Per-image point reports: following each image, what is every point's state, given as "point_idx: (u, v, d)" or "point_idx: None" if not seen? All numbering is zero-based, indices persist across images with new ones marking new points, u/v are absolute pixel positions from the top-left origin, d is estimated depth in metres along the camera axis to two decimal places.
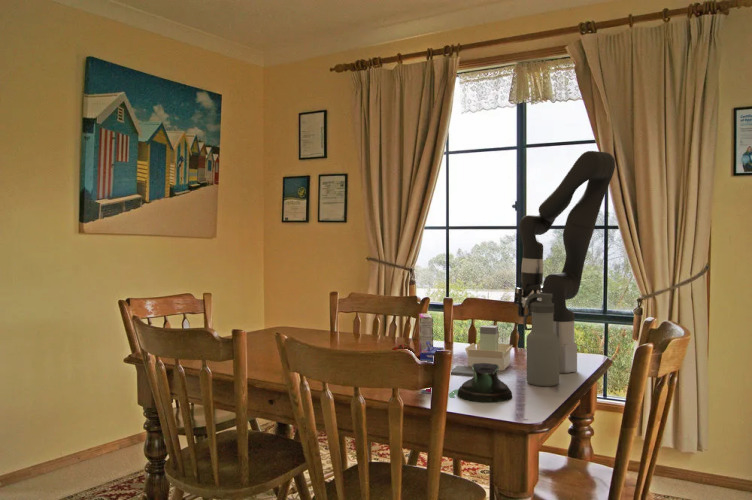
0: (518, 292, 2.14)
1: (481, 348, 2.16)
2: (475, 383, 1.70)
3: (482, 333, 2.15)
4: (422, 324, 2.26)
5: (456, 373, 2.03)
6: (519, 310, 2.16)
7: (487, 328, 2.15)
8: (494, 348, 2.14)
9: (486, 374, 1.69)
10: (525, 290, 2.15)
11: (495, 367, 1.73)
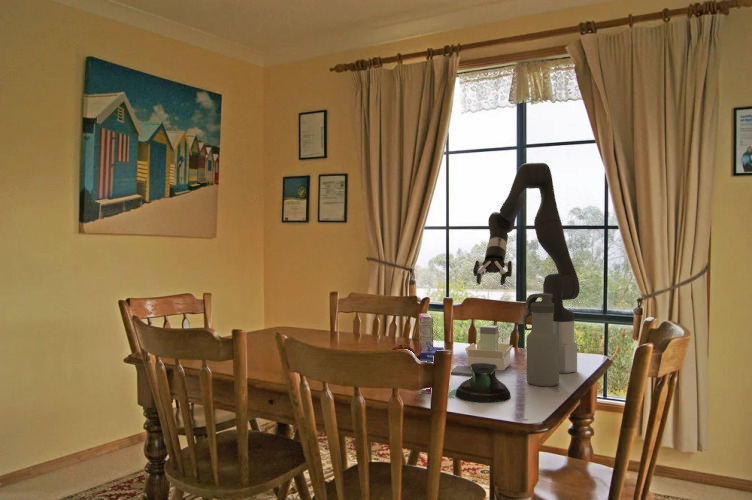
0: None
1: (481, 348, 2.16)
2: (473, 383, 1.70)
3: (482, 333, 2.15)
4: (422, 324, 2.26)
5: (456, 373, 2.03)
6: None
7: (487, 328, 2.15)
8: (494, 348, 2.14)
9: (484, 374, 1.69)
10: (483, 262, 2.33)
11: (493, 367, 1.73)
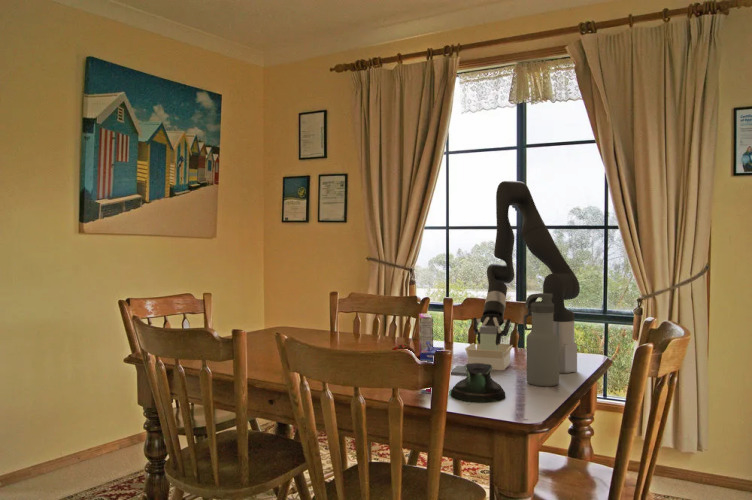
0: None
1: (481, 348, 2.16)
2: (468, 383, 1.70)
3: (482, 333, 2.15)
4: (422, 324, 2.26)
5: (456, 373, 2.03)
6: None
7: (487, 328, 2.15)
8: (494, 348, 2.14)
9: (480, 374, 1.69)
10: (480, 319, 2.22)
11: (488, 367, 1.73)
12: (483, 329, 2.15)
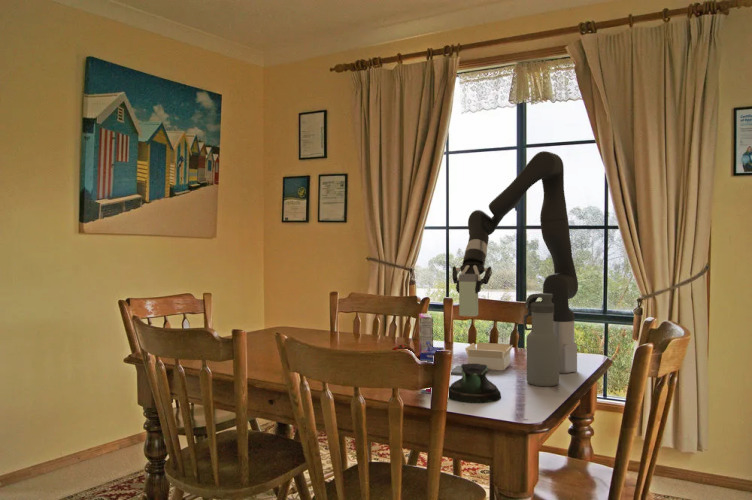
0: None
1: (460, 297, 2.05)
2: (464, 383, 1.69)
3: (461, 281, 2.05)
4: (422, 324, 2.26)
5: (456, 373, 2.03)
6: None
7: (466, 275, 2.04)
8: (473, 296, 2.03)
9: (475, 374, 1.68)
10: (460, 268, 2.11)
11: (484, 367, 1.73)
12: (462, 277, 2.05)
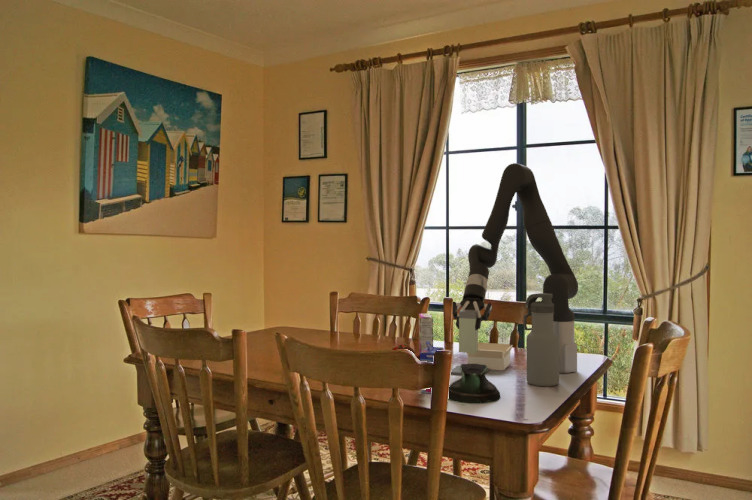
0: None
1: (460, 333, 2.05)
2: (463, 383, 1.69)
3: (461, 317, 2.05)
4: (422, 324, 2.26)
5: (456, 373, 2.03)
6: None
7: (466, 312, 2.04)
8: (473, 333, 2.04)
9: (474, 374, 1.68)
10: (460, 304, 2.12)
11: (483, 367, 1.73)
12: (462, 313, 2.05)
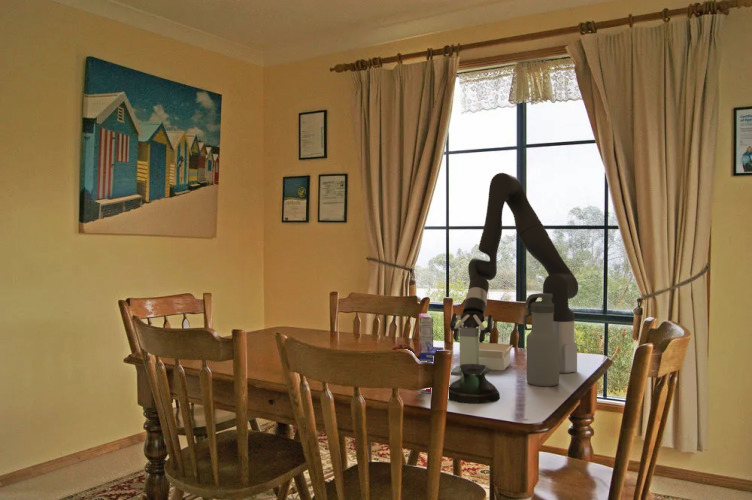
0: None
1: (460, 351, 2.05)
2: (462, 384, 1.69)
3: (461, 335, 2.05)
4: (422, 324, 2.26)
5: (456, 373, 2.03)
6: None
7: (467, 330, 2.04)
8: (474, 351, 2.04)
9: (473, 374, 1.68)
10: (461, 316, 2.12)
11: (482, 368, 1.72)
12: (462, 331, 2.05)
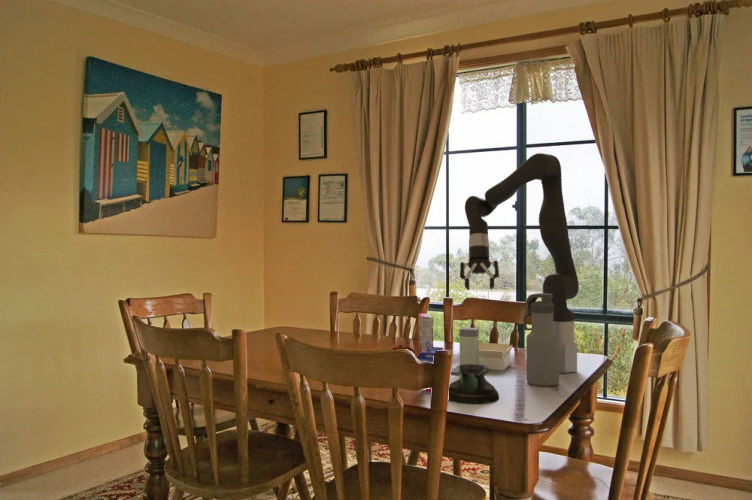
0: None
1: (460, 351, 2.05)
2: (461, 384, 1.69)
3: (461, 335, 2.05)
4: (422, 324, 2.26)
5: (456, 373, 2.03)
6: None
7: (467, 330, 2.04)
8: (474, 351, 2.04)
9: (472, 375, 1.67)
10: (468, 264, 2.28)
11: (481, 368, 1.72)
12: (462, 331, 2.05)
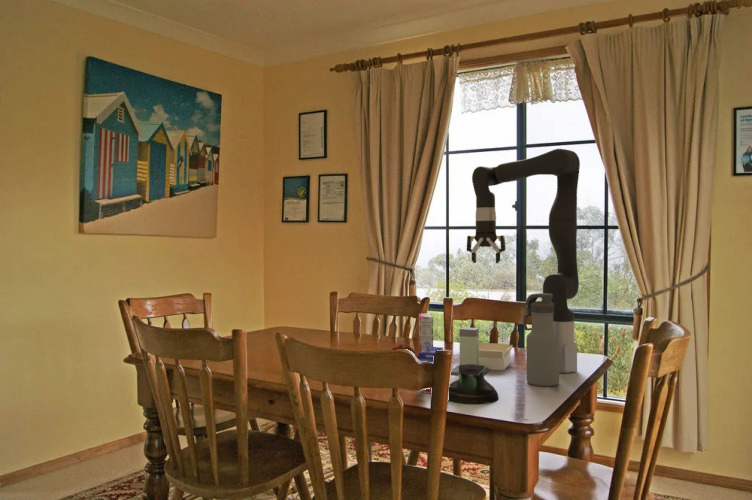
0: None
1: (460, 351, 2.05)
2: (460, 384, 1.68)
3: (461, 335, 2.05)
4: (422, 324, 2.26)
5: (456, 373, 2.03)
6: None
7: (467, 330, 2.04)
8: (474, 351, 2.04)
9: (471, 375, 1.67)
10: (475, 237, 2.29)
11: (481, 368, 1.72)
12: (462, 331, 2.05)
